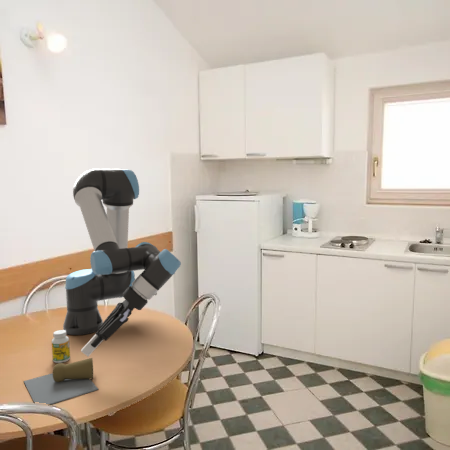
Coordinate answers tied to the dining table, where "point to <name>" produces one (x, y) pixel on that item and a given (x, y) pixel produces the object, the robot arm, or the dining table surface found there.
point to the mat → (57, 388)
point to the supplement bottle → (60, 347)
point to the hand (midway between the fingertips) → (84, 353)
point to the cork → (73, 370)
